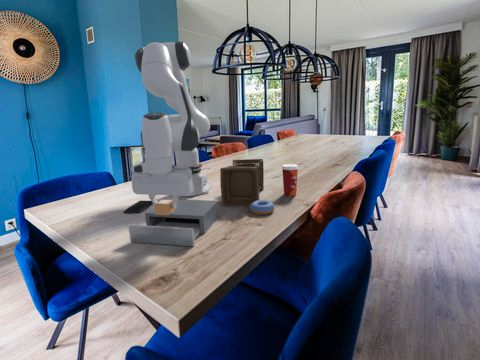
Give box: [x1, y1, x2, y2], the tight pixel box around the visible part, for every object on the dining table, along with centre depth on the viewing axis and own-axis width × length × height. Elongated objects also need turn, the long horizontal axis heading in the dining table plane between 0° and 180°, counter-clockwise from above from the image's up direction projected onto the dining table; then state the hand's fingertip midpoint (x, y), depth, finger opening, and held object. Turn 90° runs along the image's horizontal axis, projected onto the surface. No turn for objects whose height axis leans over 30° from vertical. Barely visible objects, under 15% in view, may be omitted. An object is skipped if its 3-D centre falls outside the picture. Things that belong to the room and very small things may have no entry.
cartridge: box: [154, 199, 175, 215], centre depth 95 cm, size 5×4×4 cm
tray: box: [128, 221, 201, 247], centre depth 100 cm, size 16×22×6 cm
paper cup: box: [281, 163, 299, 197], centre depth 137 cm, size 8×8×14 cm
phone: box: [122, 200, 153, 215], centre depth 130 cm, size 8×1×15 cm
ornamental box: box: [219, 158, 265, 207], centre depth 140 cm, size 35×18×18 cm, turn 170°
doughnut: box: [249, 199, 275, 216], centre depth 118 cm, size 10×10×5 cm
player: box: [144, 198, 220, 235], centre depth 109 cm, size 16×22×6 cm
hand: (165, 207), depth 95 cm, fingers closed on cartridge, 5 cm apart
